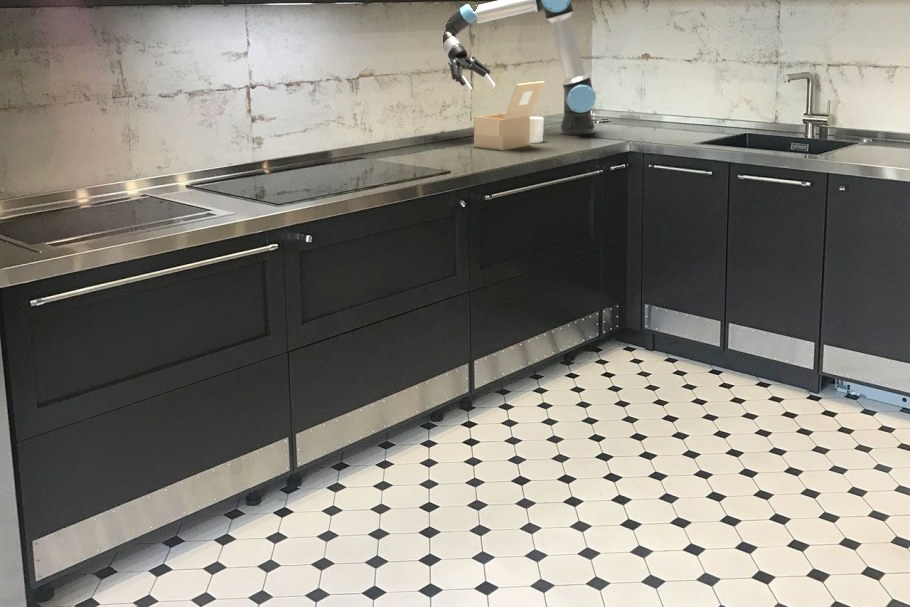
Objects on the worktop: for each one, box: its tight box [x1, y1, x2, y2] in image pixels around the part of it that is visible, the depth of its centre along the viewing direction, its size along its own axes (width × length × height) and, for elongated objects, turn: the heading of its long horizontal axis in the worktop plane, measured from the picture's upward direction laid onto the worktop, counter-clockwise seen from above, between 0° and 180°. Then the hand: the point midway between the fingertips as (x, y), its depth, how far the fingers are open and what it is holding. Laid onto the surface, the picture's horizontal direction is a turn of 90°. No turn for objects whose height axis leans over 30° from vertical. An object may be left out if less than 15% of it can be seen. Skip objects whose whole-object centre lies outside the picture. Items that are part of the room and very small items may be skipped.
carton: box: [473, 112, 531, 151], centre depth 415 cm, size 16×17×12 cm
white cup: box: [530, 116, 545, 144], centre depth 425 cm, size 8×8×10 cm
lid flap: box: [503, 80, 546, 120], centre depth 402 cm, size 16×15×1 cm
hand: (481, 89), depth 418 cm, fingers open, 13 cm apart
